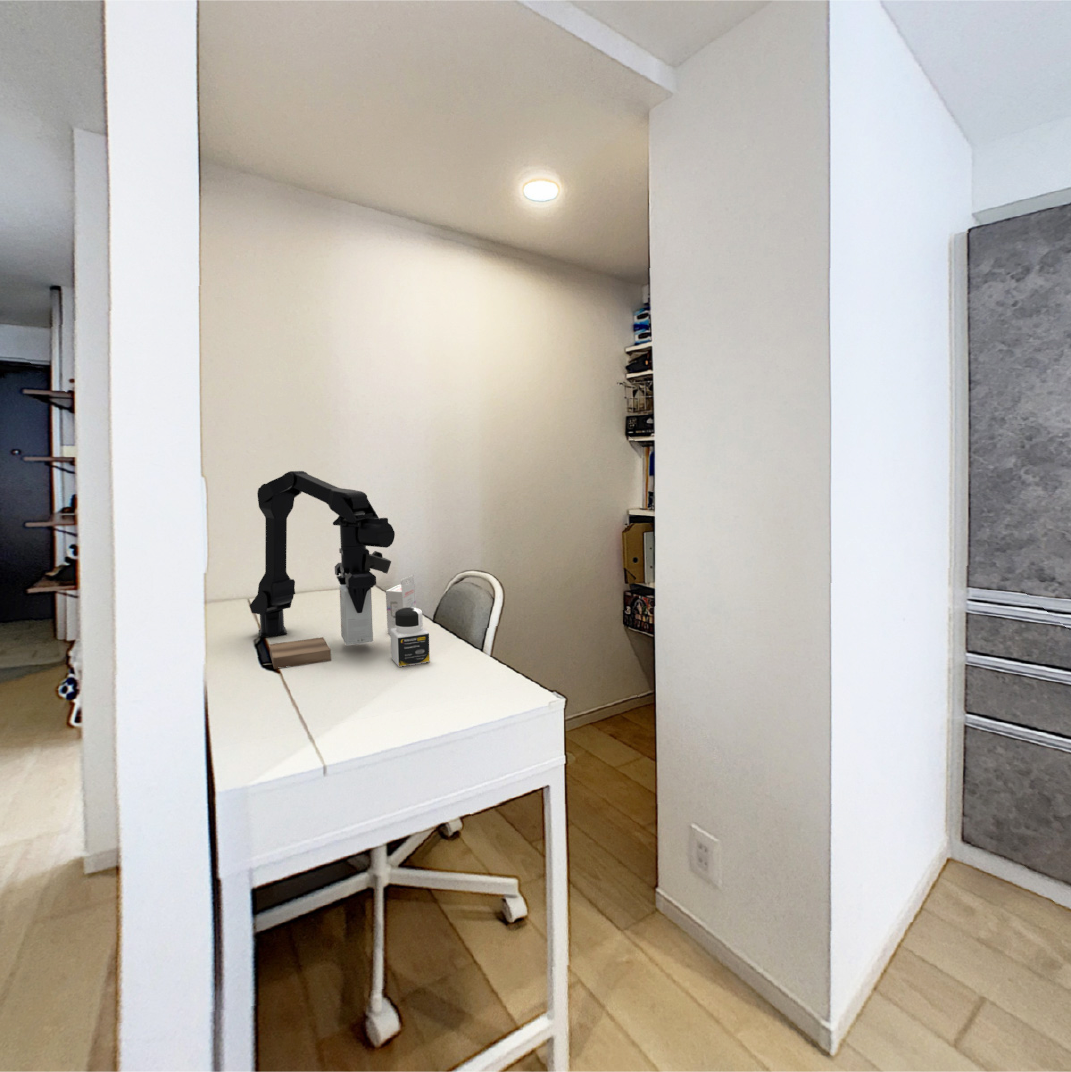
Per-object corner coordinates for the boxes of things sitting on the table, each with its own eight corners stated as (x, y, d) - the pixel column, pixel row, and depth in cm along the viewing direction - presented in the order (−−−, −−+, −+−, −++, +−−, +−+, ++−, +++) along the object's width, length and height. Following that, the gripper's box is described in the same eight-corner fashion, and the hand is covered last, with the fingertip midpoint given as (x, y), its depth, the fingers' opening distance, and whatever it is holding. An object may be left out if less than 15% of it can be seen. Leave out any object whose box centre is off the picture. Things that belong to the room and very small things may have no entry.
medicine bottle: (398, 667, 132) (397, 614, 130) (390, 658, 138) (389, 607, 136) (430, 662, 135) (428, 611, 133) (420, 653, 141) (419, 604, 140)
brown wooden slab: (270, 654, 140) (269, 644, 140) (323, 647, 146) (323, 637, 146) (274, 669, 131) (273, 658, 130) (331, 660, 136) (330, 649, 136)
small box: (373, 642, 142) (371, 588, 140) (345, 645, 139) (343, 591, 137) (367, 633, 149) (365, 582, 147) (340, 636, 146) (338, 584, 145)
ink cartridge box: (400, 625, 165) (398, 573, 163) (416, 626, 164) (415, 573, 162) (386, 634, 157) (384, 579, 155) (404, 635, 156) (402, 580, 154)
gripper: (397, 547, 137) (399, 613, 139) (378, 538, 153) (380, 597, 155) (347, 551, 131) (350, 619, 133) (333, 540, 148) (335, 602, 150)
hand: (355, 609), depth 143 cm, fingers closed on small box, 8 cm apart
